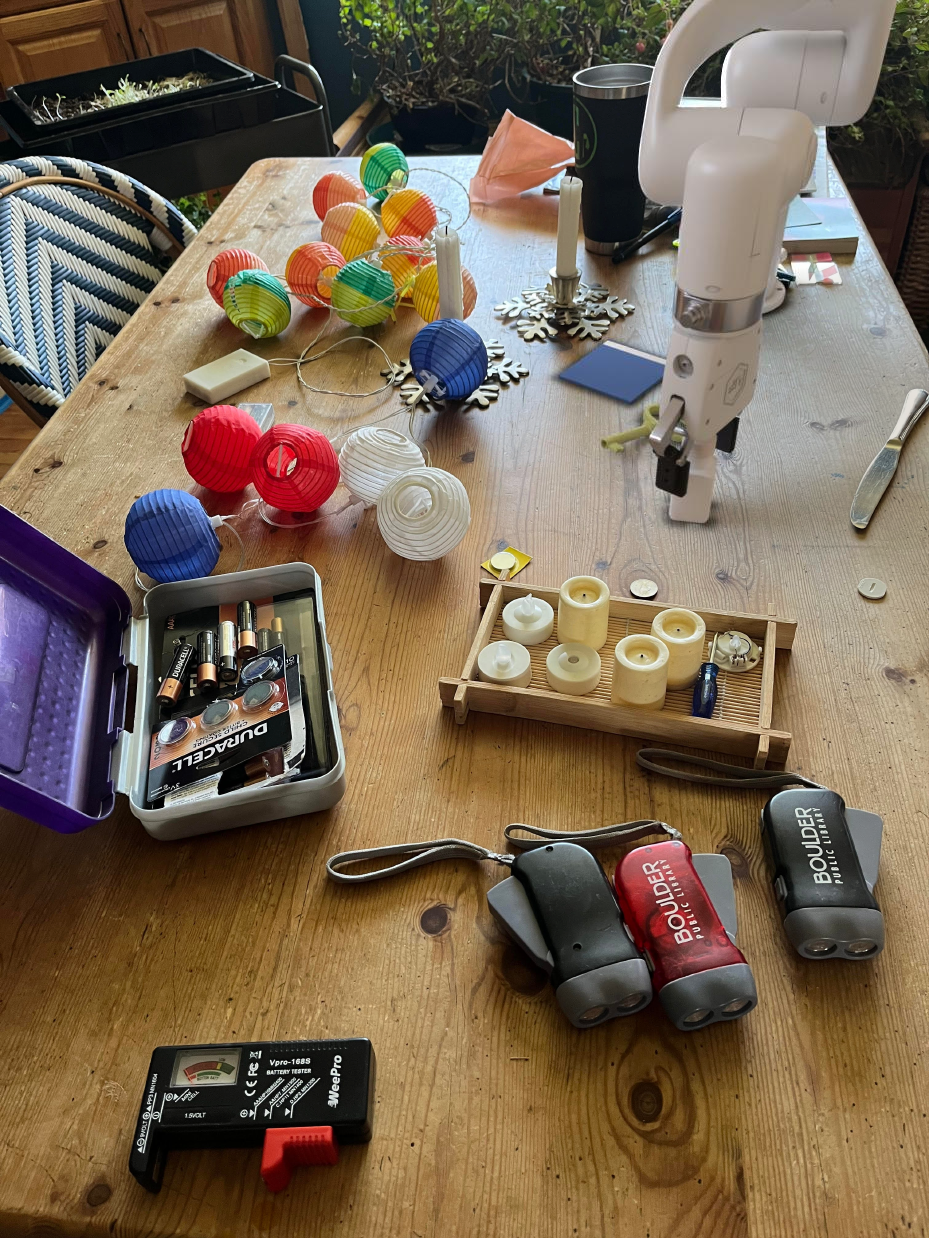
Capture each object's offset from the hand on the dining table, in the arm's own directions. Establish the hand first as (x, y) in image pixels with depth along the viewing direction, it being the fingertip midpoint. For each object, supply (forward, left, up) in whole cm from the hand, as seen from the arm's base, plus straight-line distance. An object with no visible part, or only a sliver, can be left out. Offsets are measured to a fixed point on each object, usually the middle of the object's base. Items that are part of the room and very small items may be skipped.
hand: (695, 468), depth 86 cm
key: (-9, -11, -6) cm, 15 cm away
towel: (-19, -22, -6) cm, 30 cm away
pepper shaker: (0, 0, -6) cm, 6 cm away
